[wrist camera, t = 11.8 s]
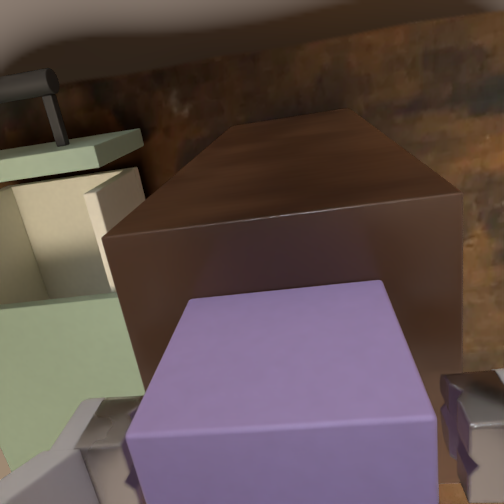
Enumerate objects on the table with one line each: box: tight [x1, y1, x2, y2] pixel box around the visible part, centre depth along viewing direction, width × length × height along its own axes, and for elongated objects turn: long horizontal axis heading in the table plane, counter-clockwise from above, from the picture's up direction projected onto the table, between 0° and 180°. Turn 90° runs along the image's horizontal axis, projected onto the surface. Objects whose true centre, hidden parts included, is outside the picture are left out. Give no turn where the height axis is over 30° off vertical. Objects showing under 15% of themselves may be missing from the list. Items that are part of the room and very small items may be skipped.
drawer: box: [0, 68, 145, 305], centre depth 31 cm, size 18×11×8 cm, turn 9°
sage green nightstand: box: [0, 292, 145, 472], centre depth 34 cm, size 15×13×10 cm
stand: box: [101, 108, 463, 484], centre depth 22 cm, size 8×8×23 cm
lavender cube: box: [126, 280, 439, 504], centre depth 9 cm, size 4×4×4 cm
